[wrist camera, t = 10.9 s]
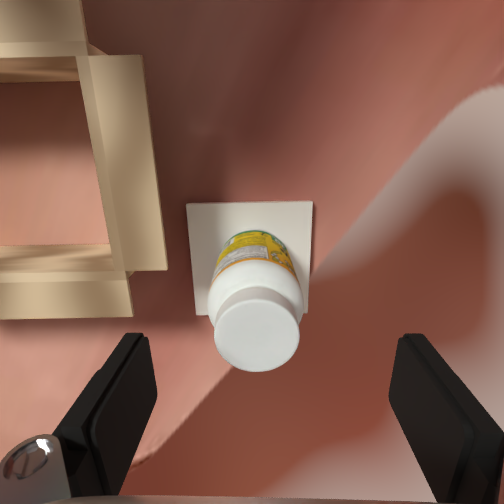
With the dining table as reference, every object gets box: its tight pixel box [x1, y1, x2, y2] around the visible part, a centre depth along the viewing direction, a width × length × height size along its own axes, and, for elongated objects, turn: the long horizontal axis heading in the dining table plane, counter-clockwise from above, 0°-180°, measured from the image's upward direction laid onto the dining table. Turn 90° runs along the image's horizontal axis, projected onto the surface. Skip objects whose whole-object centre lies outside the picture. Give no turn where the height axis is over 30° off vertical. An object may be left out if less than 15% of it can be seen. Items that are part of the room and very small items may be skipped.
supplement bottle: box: [207, 229, 304, 372], centre depth 18 cm, size 5×5×10 cm
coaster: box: [186, 200, 313, 315], centre depth 23 cm, size 9×9×1 cm
